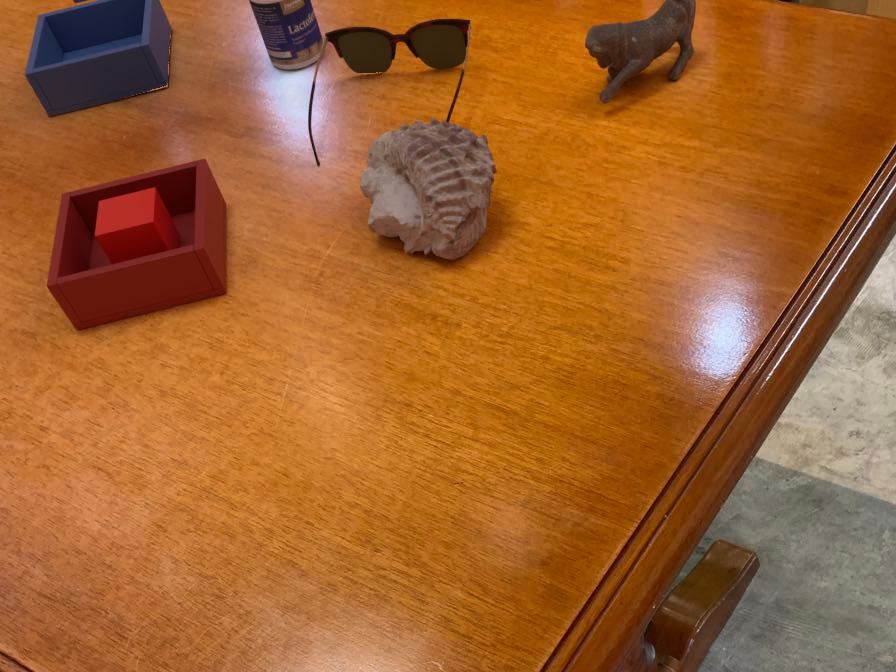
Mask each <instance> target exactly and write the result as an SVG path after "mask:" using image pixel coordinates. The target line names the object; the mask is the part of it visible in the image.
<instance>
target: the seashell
mask: <svg viewBox="0 0 896 672" xmlns="http://www.w3.org/2000/svg"><path fill="white" fill-rule="evenodd" d="M429 120H430V122H428V123H426V122H423V121H421V120H414V122H413V124H411V125H409V124H406V123H403V124H401V125H399V126H398V127H397V128H396V129H395V130H393V129H390V130H388V131H386V132H384V133H382V134H380V135H379V136H378V137H376V138H374V140H373V141H372V142H371V143H370V145H369V147H368V150H367V151H368V152H367V155H366V164H367V168H366V167H365V169H363V170H362V171H361V177H360V185H359V186H360V191H361V193H362V195H363V196H364V197H365V198H368V199H369V202H370V205H371V207H370V208H369V215H368V218H367V222H366V223H367V226H368V229H369V231H370V232H371V233H372V234H373V235H382V236H384V237H389V238H396V237H397V238H398V237H399V239H400V240H401V241H402V242H403V244H404V246H403V249H404V252H405V253H410V254H414V252H423V253H424V256H427V255H428V254H430V253H431V252H432V253H433V254H434V255H435V256H437V257H439V258H441V259H446V260H454V261H456V260H457V259H458V258H461V257H465V256H466V255H467V254H468V253H469V252H470V251H471V250H472V248H474V246H475V245H476V244H477V243H478V242H479V240H480V239H481V238H482V237H483V236H484V234H485V233H486V230H487V223H488V222H487V221H488V211H489V208H490V205H491V194H492V192H493V185H494V183H495V174H497V173H498V171H497V168H496V167H497V166H496V163H495V162H494V156H493V153H492V151H491V149H490V147H489V139H488V138H487V136H486V135H485V134H481V136H479V135H478V134H475V133H474V131H471V130H470V129H469V128H467V127H463V126H461V125H459V124H456V123H451V122H449V123H448V122H446V120H442V121H441V122H440V121H439V120H437V119H436V118H432V117H429Z"/></svg>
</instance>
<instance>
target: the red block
mask: <svg viewBox="0 0 896 672" xmlns="http://www.w3.org/2000/svg"><path fill="white" fill-rule="evenodd" d="M95 237H96V239H97V241H98V242H99V244H100V246H101V247H102V249H103V251H104V252H105V254H106V256H107V257H108V259H109V261H110V262H111V264H116V263H120V262H124V261H128V260H132V259H136V258H140V257H144V256H148V255H153V254H157V253H161V252H165V251H169V250H173V249H177V248H180V234H179V232H178V230H177V228H176V226H175V224H174V222H173V220H172V218H171V216H170V214H169V212H168V211H167V209H166V207H165V205H164V203H163V201H162V199H161V197H160V195H159V193H158V191H157V189H156V188H155V187H154V188H150V189H146V190H142V191H138V192H134V193H130V194H126V195H122V196H118V197H114V198H110V199H105V200H101V201H99V205H98V213H97V221H96V229H95Z"/></svg>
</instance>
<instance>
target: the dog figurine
mask: <svg viewBox="0 0 896 672" xmlns="http://www.w3.org/2000/svg"><path fill="white" fill-rule="evenodd" d="M696 10H697V3H696V0H664V1H663V3H662V4H661V5H660V7H659V9H658V10H656V11H655V12H654V13H653V14H652V15H650V17H648V18H645V19H639V20H634V21H629V22H621V21H618V22H614V23H603V24H598V25H597V24H595V25H592V26H591V27H590V28H589V29H588V31H587V34H586V37H585V40H584V47H585V48H586V49H587V51H588V54H589V56H590V57H591V58H592V59H593V58H594V59H596V62H597V65H598V67H599V68H600V69H602V70H603V69H604V70H605V69H606V70H607V74H608V75H607V76H606V78H605V79H606V81H607V83H608V84H607V86H606V87H605V88H604V89H603V90H602V91H601V92H600V93H599V96H598V99H599V101H600V102H601V103H602V104H608V103H610V102H611V101H612V100H613V96H615V95H616V94H617V93H618V92H619V90H620V88H621V86H622V85H623V84H624V83H625V82H626V81H627V80H629V79H631V78H633V77H634V76H636V75H638V74H640V73H642V72H643V71H645V70H646V69H648V68H649V67H650V66H651V65H652V63H653V62H654V61H655V60H656V59H658V58H660V57H661V56H663V55H664V54H665V53H666V52H667V51H668V50H670V48H672V47H673V46H674V45H675V44H676V43H677V44H678V46H679V54H678V56H677V58H676V60H675V62H674V64H673V66H672V67H671V69H670V70H669V72H668V74H667V78H668V79H670V80H673V81H676V80H678V79H680V78H681V73H682V72H684V71H685V69H686V67H687V64H688V62H689V61H690V60H691V59H692V58H693V56H694V54H695V49H694V46H693V45H694V44H693V41H692V34H693V30H694V26H695V20H696Z"/></svg>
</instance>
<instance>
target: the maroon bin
mask: <svg viewBox="0 0 896 672" xmlns="http://www.w3.org/2000/svg"><path fill="white" fill-rule="evenodd" d="M154 187H155V188H156V189H157V191H158V193H159V195H160V197H161V199H162V201H163V203H164V205H165V207H166V209H167V211H168V212H169V214H170V216H171V218H172V220H173V222H174V224H175V226H176V228H177V230H178V232H179V234H180V248H177V249H173V250H169V251H165V252H161V253H157V254H153V255H148V256H144V257H140V258H136V259H132V260H128V261H124V262H120V263H116V264H111V262H110V261H109V259H108V257H107V256H106V254H105V252H104V251H103V249H102V247H101V246H100V244H99V242H98V241H97V239H96V237H95V229H96V221H97V213H98V205H99V201H101V200H105V199H110V198H114V197H118V196H122V195H126V194H130V193H134V192H138V191H142V190H146V189H150V188H154ZM59 202H60V203H59V208H58V214H57V220H56V225H55V226H56V227H55V231H54V238H53V245H52V252H51V256H50V263H49V269H48V276H47V282H46V288H47V289H48V291H49V292H50V294H51V295H52V297H53V299H54V300H55V301H56V303H57V304H58V305H59V307H60V308H61V310H62V311H63V313H64V314H65V316H66V317H67V319H68V320H69V322H70V323H71V325H72V326H73V327H74V329H75V330H76V331H79V330H83V329H87V328H91V327H96V326H101V325H104V324H106V323H111V322H117V321H120V320H124V319H128V318H133V317H136V316H139V315H140V316H141V315H145V314H148V313H152V312H157V311H161V310H164V309H169V308H172V307H176V306H181V305H185V304H188V303H193V302H197V301H201V300H205V299H210V298H213V297H217V296H221V295H225V294H227V293H228V292H227V291H228V290H227V285H228V284H227V202H226V200H225V198H224V196H223V194H222V191H221V189H220V187H219V185H218V182H217V180H216V178H215V176H214V173H213V172H212V170H211V167H210V165H209V162H208V161H207V159H206V158H201V159H198V160H193V161H192V160H191V161H188V162H185V163H180V164H176V165H172V166H169V167H164V168H159V169H155V170H152V171H147V172H144V173H140V174H136V175H131V176H128V177H124V178H119V179H116V180H112V181H107V182H104V183H99V184H96V185H91V186H88V187H87V186H86V187H84V188H83V187H82V188H79V189H75V190H71V191H66V192H62V193H61V195H60V201H59Z"/></svg>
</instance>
